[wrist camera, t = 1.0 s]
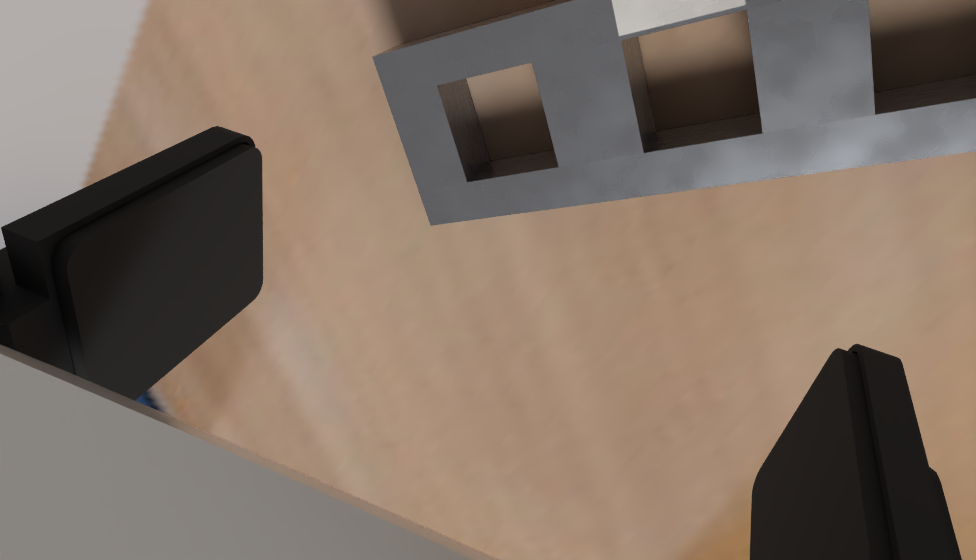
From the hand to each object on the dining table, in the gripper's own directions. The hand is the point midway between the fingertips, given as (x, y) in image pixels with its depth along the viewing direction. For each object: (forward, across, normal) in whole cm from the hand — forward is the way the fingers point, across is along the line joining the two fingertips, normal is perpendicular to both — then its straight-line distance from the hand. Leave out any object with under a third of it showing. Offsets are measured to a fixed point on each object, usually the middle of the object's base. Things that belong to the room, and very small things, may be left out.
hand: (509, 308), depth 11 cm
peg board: (+28, -2, +3) cm, 28 cm away
